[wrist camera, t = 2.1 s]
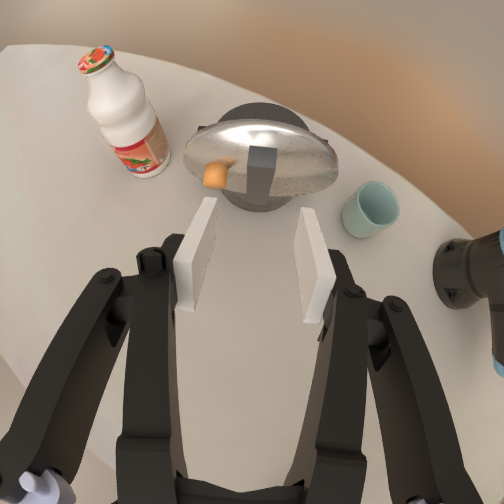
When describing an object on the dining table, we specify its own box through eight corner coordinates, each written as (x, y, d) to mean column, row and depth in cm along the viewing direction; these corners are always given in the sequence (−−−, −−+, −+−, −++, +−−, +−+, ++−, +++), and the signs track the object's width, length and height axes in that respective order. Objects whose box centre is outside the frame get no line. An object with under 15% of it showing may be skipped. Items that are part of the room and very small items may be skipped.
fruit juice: (180, 157, 50) (141, 45, 23) (143, 188, 49) (73, 91, 22) (155, 132, 52) (111, 29, 24) (120, 161, 50) (55, 68, 23)
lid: (316, 194, 36) (315, 216, 36) (198, 181, 36) (194, 204, 35) (361, 136, 20) (363, 169, 20) (169, 115, 20) (160, 147, 20)
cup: (329, 211, 49) (348, 189, 39) (361, 197, 50) (384, 175, 40) (348, 249, 48) (372, 234, 38) (380, 233, 49) (407, 216, 39)
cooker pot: (311, 218, 49) (330, 191, 37) (197, 206, 48) (184, 176, 37) (312, 149, 52) (327, 112, 40) (210, 138, 52) (204, 98, 40)
